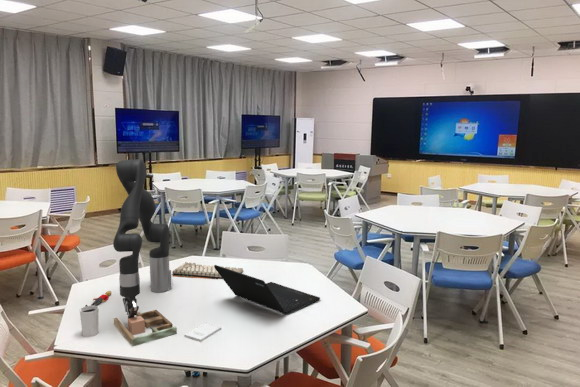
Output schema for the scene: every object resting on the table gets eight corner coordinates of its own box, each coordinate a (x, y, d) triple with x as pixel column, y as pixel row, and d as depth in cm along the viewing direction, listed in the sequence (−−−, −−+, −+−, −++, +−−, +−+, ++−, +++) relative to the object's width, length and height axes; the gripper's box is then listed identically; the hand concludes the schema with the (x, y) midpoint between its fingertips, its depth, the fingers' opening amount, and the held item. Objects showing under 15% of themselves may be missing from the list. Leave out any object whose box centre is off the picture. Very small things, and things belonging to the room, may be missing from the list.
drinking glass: (87, 328, 174) (85, 305, 173) (103, 329, 174) (101, 305, 172) (77, 336, 168) (75, 311, 166) (94, 337, 167) (92, 312, 166)
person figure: (84, 300, 193) (106, 286, 210) (82, 308, 193) (104, 293, 211) (95, 304, 192) (115, 289, 210) (93, 312, 193) (113, 297, 211)
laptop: (321, 301, 206) (321, 261, 203) (263, 327, 178) (263, 281, 176) (271, 284, 228) (271, 248, 225) (213, 304, 201) (212, 263, 198)
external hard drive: (221, 330, 175) (200, 343, 165) (205, 326, 179) (184, 338, 169) (221, 326, 175) (200, 339, 164) (205, 322, 179) (184, 334, 168)
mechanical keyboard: (245, 270, 250) (245, 265, 250) (235, 282, 232) (235, 276, 231) (183, 267, 257) (183, 261, 256) (168, 277, 238) (168, 271, 238)
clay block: (140, 327, 176) (140, 315, 175) (145, 331, 172) (144, 319, 171) (128, 330, 173) (127, 318, 172) (132, 335, 169) (131, 323, 168)
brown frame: (154, 313, 189) (154, 308, 189) (176, 333, 171) (176, 327, 171) (113, 324, 179) (113, 318, 179) (132, 346, 161) (132, 339, 160)
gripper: (144, 285, 171) (146, 327, 173) (133, 276, 181) (135, 316, 184) (125, 289, 166) (127, 332, 169) (115, 280, 177) (116, 320, 179)
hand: (131, 324), depth 176 cm, fingers closed
